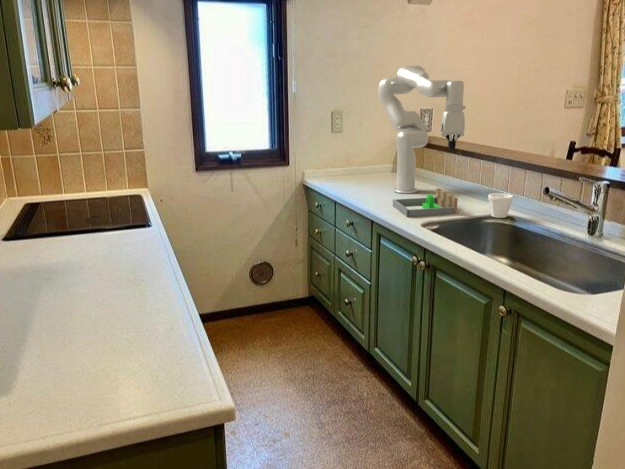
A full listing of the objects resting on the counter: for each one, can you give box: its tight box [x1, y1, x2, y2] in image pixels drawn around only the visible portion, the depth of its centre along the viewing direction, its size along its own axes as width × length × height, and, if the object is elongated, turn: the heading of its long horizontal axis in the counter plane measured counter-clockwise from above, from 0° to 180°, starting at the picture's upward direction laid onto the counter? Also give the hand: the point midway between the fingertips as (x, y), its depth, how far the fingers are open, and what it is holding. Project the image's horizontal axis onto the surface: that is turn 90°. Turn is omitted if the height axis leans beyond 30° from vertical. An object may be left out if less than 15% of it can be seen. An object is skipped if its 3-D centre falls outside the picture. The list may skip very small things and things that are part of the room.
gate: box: [435, 187, 459, 215], centre depth 239 cm, size 21×2×7 cm, turn 9°
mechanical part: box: [421, 194, 442, 209], centre depth 237 cm, size 12×6×8 cm, turn 3°
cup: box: [487, 192, 514, 219], centre depth 223 cm, size 10×10×9 cm
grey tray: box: [392, 196, 454, 218], centre depth 238 cm, size 21×21×3 cm
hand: (451, 149), depth 244 cm, fingers closed
